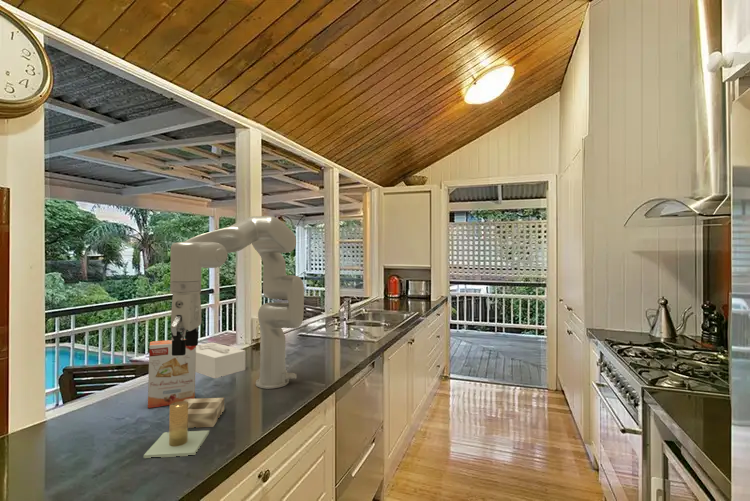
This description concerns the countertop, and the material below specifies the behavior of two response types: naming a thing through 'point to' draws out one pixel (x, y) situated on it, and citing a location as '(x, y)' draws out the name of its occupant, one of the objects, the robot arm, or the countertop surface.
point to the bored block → (204, 411)
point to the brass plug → (178, 423)
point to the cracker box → (170, 374)
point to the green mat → (189, 448)
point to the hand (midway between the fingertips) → (185, 350)
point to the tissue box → (218, 360)
